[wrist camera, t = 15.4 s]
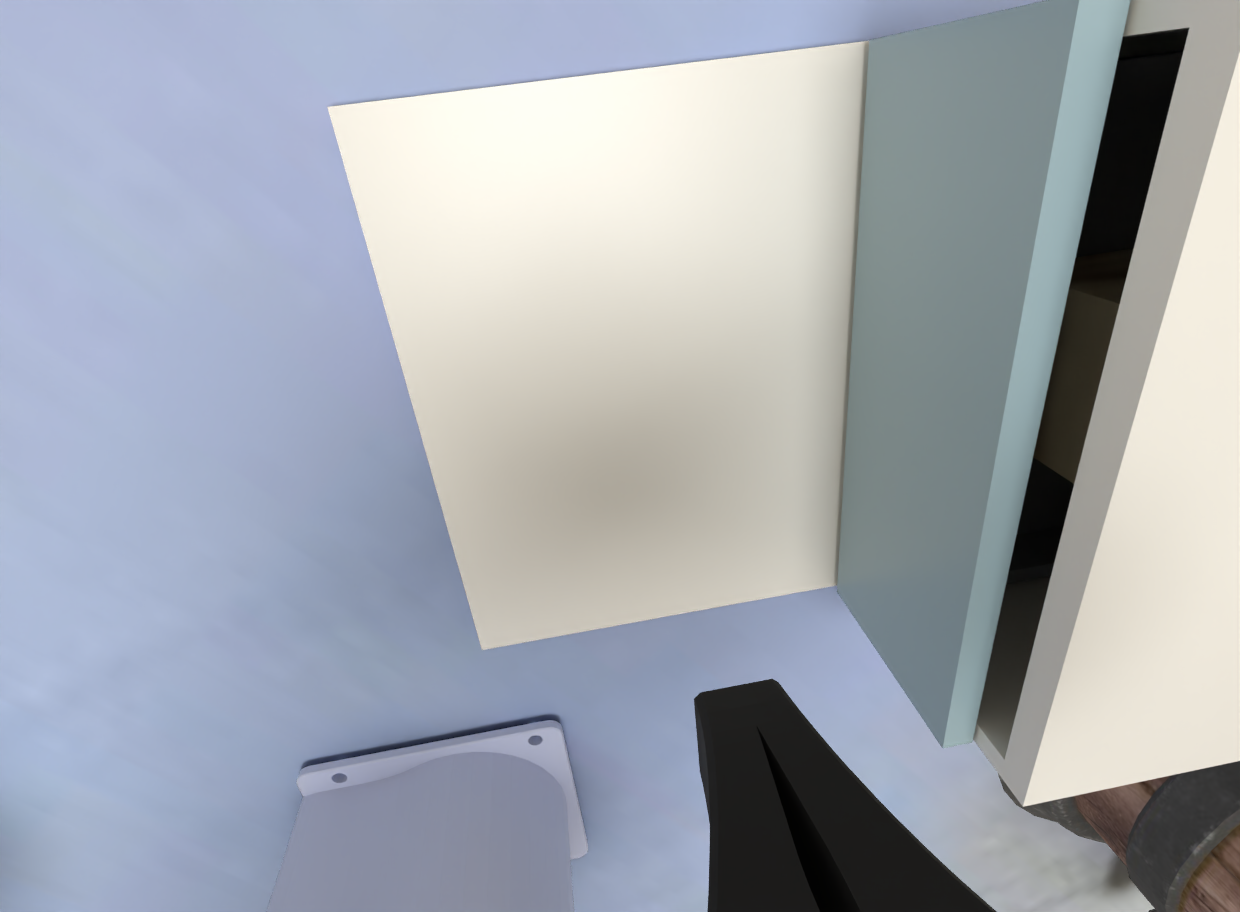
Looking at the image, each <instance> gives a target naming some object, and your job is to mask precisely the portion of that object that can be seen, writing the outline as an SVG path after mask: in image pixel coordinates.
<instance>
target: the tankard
mask: <svg viewBox="0 0 1240 912" xmlns="http://www.w3.org/2000/svg"><path fill="white" fill-rule="evenodd" d="M998 775H999V774H998ZM999 778H1000V781H1001V783H1002V786H1003V789H1004V791H1005V792H1006V793H1007V794H1008V795H1009V797H1010V798H1011V799H1012V800H1013V801H1014V803H1015V804H1016V805H1017V806H1019V807H1021V808H1022V809H1024V810H1026V811H1027V812H1029V813H1031V814H1032V815H1034V816H1037V817H1041V818H1044V819H1048V820H1051V821H1055V822H1058V823H1059V824H1060V825H1062V826H1063V827H1065V828H1066V829H1068V830H1070V831H1071V832H1073V833H1075V834H1076V835H1078V836H1081V837H1084V838H1088V839H1091V840H1095V841H1099V842H1103V843H1107V844H1108V845H1109V847H1110V848H1111V849H1112V850H1113V851H1114V852H1115V853H1116V855H1117V856H1118V857H1119V858H1120V859H1121V860H1122V862H1123V863H1124V864H1125V865H1126V866H1127V869H1128V873H1129V877H1130V879H1131V880H1132V881H1133V883H1134V884H1135V885H1136V887H1137V888H1138V889H1139V890H1140V892H1141V893H1142V894H1143V895H1144V896H1145V897H1146V899H1147V900H1148V901H1149V902H1150V903H1151V904H1152V906H1153V907H1154V908H1155V909H1153V910H1149V912H1240V761H1237V762H1232V763H1227V764H1223V765H1218V766H1213V767H1208V768H1204V769H1199V770H1194V771H1190V772H1185V773H1180V774H1175V775H1171V776H1166V777H1161V778H1156V779H1152V780H1147V781H1142V782H1138V783H1133V784H1128V785H1123V786H1119V787H1114V788H1109V789H1104V790H1100V791H1095V792H1090V793H1086V794H1081V795H1076V796H1071V797H1067V798H1062V799H1057V800H1053V801H1048V802H1043V803H1038V804H1034V805H1029V806H1024V807H1023V806H1022V805H1021V804H1020V802H1019V801H1018V800H1017V798H1016V797H1015V796H1014V794H1013V793H1012V791H1011V790H1010V789H1009V787H1008V786H1007V785H1006V783H1005V782H1004V781H1003V779H1002V778H1001V776H1000V775H999Z"/></svg>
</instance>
